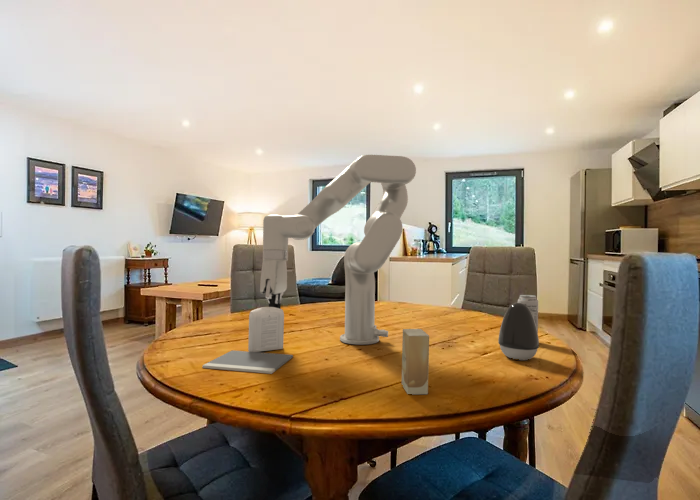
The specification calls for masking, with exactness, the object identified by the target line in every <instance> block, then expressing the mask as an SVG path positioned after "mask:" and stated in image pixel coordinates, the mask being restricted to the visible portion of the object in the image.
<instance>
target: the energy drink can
mask: <svg viewBox="0 0 700 500" xmlns="http://www.w3.org/2000/svg"><path fill="white" fill-rule="evenodd" d="M517 303H523V304H526V305H527V307H528V308H529V310H530V311H531V313H532V315H533V318H534V321H535V324H536V328H537V333H538V334H539V331H538V330H539V300H538V299H537V296H536V295H532V294H519V297H518V299H517Z"/></svg>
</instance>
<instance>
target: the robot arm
mask: <svg viewBox="0 0 700 500" xmlns="http://www.w3.org/2000/svg"><path fill="white" fill-rule="evenodd" d="M416 173H417V167H416V165H415V162H414V161H413V160H412V159H411V158H409V157H407V156H402V155H387V154H386V155H385V154H364V155H361V156H359V157H357V158H356V159H355V160H354V161H353V162H351V163H350V164H349V165H348V166H347V167H346V168H345V169H343V170H342V171H341V172H340V173H339V174H338V175H337V176H336V177H335V178H334V179H332V180H331V181H330V182H329V183H328V184H327V185H325V187H324V188H322V189H321V190H320V191H319V193H318V194H317V195H316V196H315V197H314V198H313V199H312V200H311V201H310V202H309V203H308V204H306V206H305V207H303V209H301V210H300V211H299V212H298V213H297V214H294V215H281V214H268V215H265V216H264V218H263V222H262V225H263V226H262V227H263V228H262V232H263V233H262V235H263V236H262V263H261V264H262V265H261V271H260V282H259V283H260V285H259V286H260V287H259V293H260V294H261V295H263V294H264V295H265V299H267V303H268V307H276V308H280V309H282V308H281V307H282V306H281V305H282V304H281V303H282V298H283V297H282V296H283V295H284V293H285V292H286V291H287V289H288V270H287V269H288V268H287V265H288V264H287V262H288V261H289V239H294V240H296V241H304V240H307V239H309V238H310V237H311V236H313V235H314V232H315V229H316V228H318V227H319V226H320V225H321V224H322V223H323V222H324V221H326V220H327V219H328V218H329V217H331V216H332V215H334V214H336V213H338V212H339V211H341V210H342V209H343V208H344V207H345V206H346V205H347V204H348V203H350V201H351V200H353V199H354V198H355V197H356V196H357V195H358V194H359V193H361V191H363V190H364V188H366V187H367V186H368V185H369V184H371V183H378V184H381V187H382V196H381V199H380V200H379V203H378V204H377V206H376V208H375V209H374V210H373V212H372V214H371V215H370V217H369V218H368V219H367V220H366V222H365V225H364V228H363V234H364V237H363V238H362V240H361V241H356V242H354V243H352V244H350V245H349V246H348V247H347V248H346V249H345V252H344V257H343V263H344V264H343V265H344V274H345V275H344V277H345V278H344V279H345V287H344V288H345V292H344V293H345V294H344V295H345V296H344V309H345V310H344V333H343V334H341V335H340V336H339V341H340V342H342V343H345V344H350V345H357V346H358V345H360V346H361V345H362V346H363V345H372V344H377V343H379V341H380V337H383V338H387V337H389V330H386V329H378V328H377V325H375V320H376V319H375V317H376V315H375V310H376V309H375V308H376V307H375V305H376V301H375V300H376V295H375V294H376V278H375V273H376V272H378V271H379V270H380V269H381V268H382V267H383V266H384V264H385V263H386V262H387V260H388V258H389V257H390V256H391V253H392V252H393V250H394V249H395V247H396V245H397V244H398V243H399V241H400V238H401V237H402V234H403V222H402V219H401V218H402V216H403V214H404V212H405V210H406V209H407V205H408V202H409V201H408V200H409V196H408V189H407V184H410V183H411V182H412V181H413V179H415V177H416Z"/></svg>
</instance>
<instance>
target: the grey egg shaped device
mask: <svg viewBox="0 0 700 500" xmlns="http://www.w3.org/2000/svg"><path fill="white" fill-rule="evenodd" d="M505 311H506V312H505V313H504V315H503V318H502V321H501V326H500V328H499V332H498V341H497V343H498V344H499V348H500V350H501V352H502V354H503V355H505V356H506V357H507V358H509V359H511V358H513V359H512V360H514V359H519V360H518V361H528V359H529V360H531V359H532V358H534V357H535V356H536V354H537V352H538V349H539V348H540V340H539V332H538V333H537V328H536V324H535V321H534V318H533V315H532V313H531V311H530V310H529V308H528V307H527V305H526V304H523V303H518V302H514V303H511V304H510V305H509V306H508V308H507V309H506V310H505Z"/></svg>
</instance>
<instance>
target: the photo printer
mask: <svg viewBox="0 0 700 500" xmlns="http://www.w3.org/2000/svg"><path fill="white" fill-rule="evenodd" d="M284 312H285V311H284V310H283V309H282V308H281V309H280V308H276V307H269V306H263V307H258V308H255V309H253V310H251V311H250V312H249V315H248V345H247V347H248V348H247V349H248V351H247V352H260V353H262V352H268V351H274V350H275V351H276V350H283V349H284V334H285V333H284V329H285V328H284V327H285V326H284V325H285V313H284Z"/></svg>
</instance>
